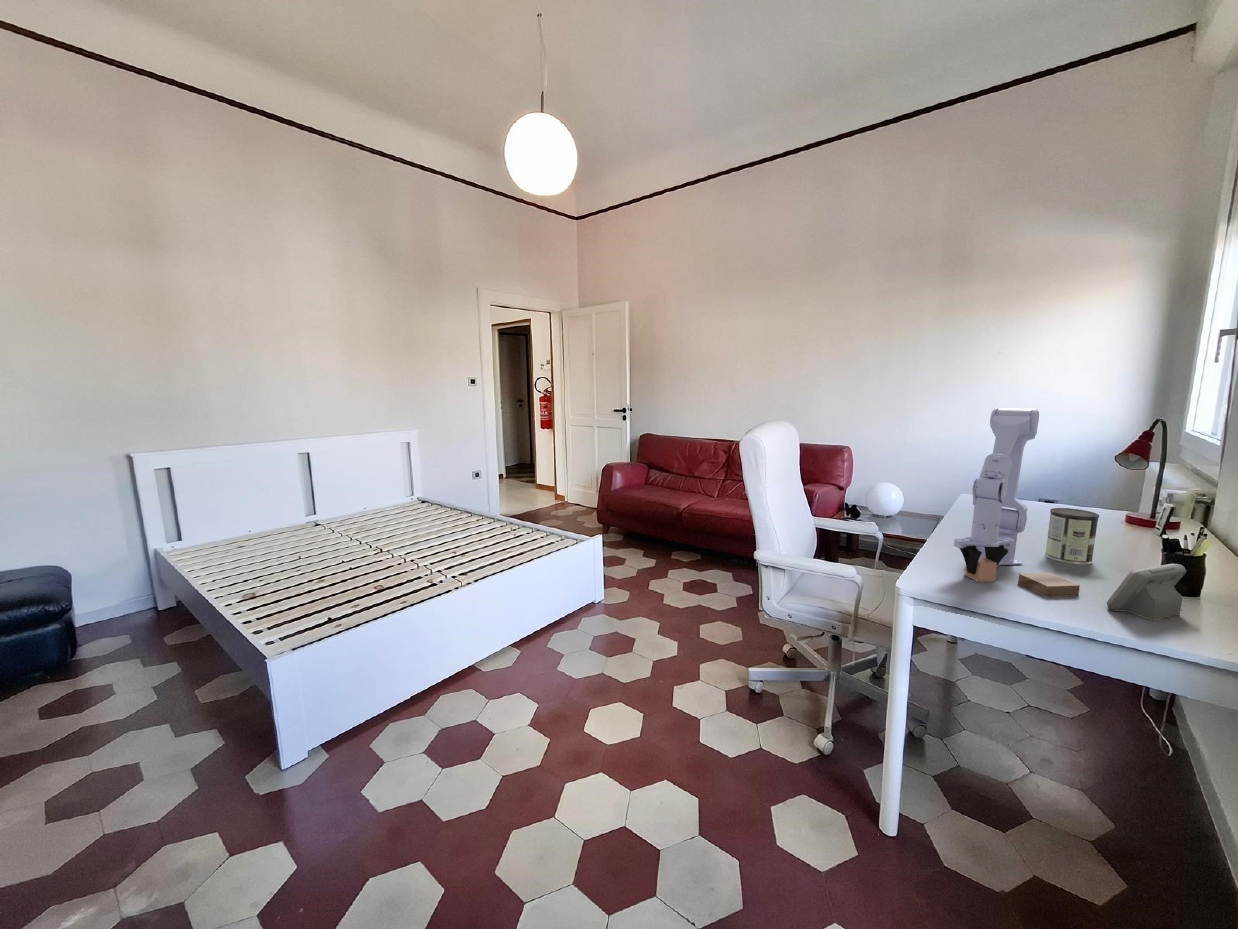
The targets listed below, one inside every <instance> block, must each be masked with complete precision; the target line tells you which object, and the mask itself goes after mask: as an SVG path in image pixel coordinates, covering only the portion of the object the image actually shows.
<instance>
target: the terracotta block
mask: <svg viewBox="0 0 1238 929" xmlns="http://www.w3.org/2000/svg"><path fill="white" fill-rule="evenodd" d="M996 567H997V568H998V566H997V563H996V562H994V561H992V560H990V559H987V558H985V557H980V558H979V560H978V564H977V570H976V573H975V574H971V573H969V572H967V568H966V567H965V573H964V575H965V576H966V575H967V576H966V577H968V578H971V579H972V580H974V581H976V582H995V581H996V575H997V574H996V573H997V568H996Z"/></svg>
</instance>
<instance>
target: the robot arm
mask: <svg viewBox="0 0 1238 929" xmlns="http://www.w3.org/2000/svg"><path fill="white" fill-rule="evenodd" d="M1039 422H1040V412H1039V410H1038V409H1037V408H999V407H995V408H993V410H992V411H991V413H990V420H989V426H990V429H991V431H992V433H993V436H994V438H995V440H994V444H993V449H992V450H993V451H992V453H991V454H989V455H987V456H986V457H985V459H984V462H983V465H982V468H981V471H980V474H979V477H978V478H975V479H974V481H973V485H972V505H973V515H972V521H971V522H972V523H971V530H970V531H971V533H970V536H967V537H961V538H954V540H953V541H954V543H953V546H954V547H956V548H958V549H959V550H960V552H961V553H962V556H963V559H964V562H965V563H964V564H965V569H966V568H967V572H969V573H971V574H975V573H976V570H977V564H978V560H979V558H980V557H985V558H987V559H990V560H992V561H994V562H996V563H997V567H996V569H997V568H998V567H999V566H1002V565H1004V566H1007V565H1008V566H1009V565H1023V562H1022V561H1019V560H1017V559H1015V555H1016V549H1017V548H1016V547H1017V541H1018V534H1019V533H1020V534H1021V533H1022V532H1024V531H1025V528H1026V525H1027V520H1028V519H1027V518H1028V517H1027V516H1028V515H1027V512H1028V507H1027V506H1026V505H1025V504H1024V503H1023V502H1022V501H1020V500H1019V499H1018V498H1017V494H1018V488H1019V481H1020V475H1021V468H1022V461H1023V456H1024V455H1023V454H1024V449H1025V446H1026V444H1027V442H1028V441H1031V440H1034V439H1035V438H1036V436H1037V432H1038V426H1039ZM1003 507H1004V508H1003Z"/></svg>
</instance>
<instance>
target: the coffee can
mask: <svg viewBox="0 0 1238 929" xmlns="http://www.w3.org/2000/svg"><path fill="white" fill-rule="evenodd" d="M1049 511H1050V513H1049V514H1050V516H1049V520H1048V521H1049V522H1048V531H1047V540H1046V547H1045V553H1044V556H1045V557H1047V558H1048V559H1050V560H1053V561H1055V562H1056V561H1057V562H1061V563H1064V564H1070V565H1080V566H1081V565H1083V566H1085V565H1087V566H1088V565H1092V564H1093V557H1094V556H1093V555H1094V549H1095V542H1096V534H1097V528H1098V521H1099V518H1100V514H1098V513H1096V512H1093V511H1091V510H1090V511H1089V510H1085V509H1077V508H1072V507H1071V508H1070V507H1069V508H1068V507H1053V508H1050V509H1049Z"/></svg>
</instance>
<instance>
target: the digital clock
mask: <svg viewBox="0 0 1238 929" xmlns="http://www.w3.org/2000/svg"><path fill="white" fill-rule="evenodd" d="M1186 573H1187V570H1186V568H1185V566H1183V565H1182V564H1180V563H1179V564H1178V563H1167V564H1162V565H1155V566H1150V567H1145V568H1139V569H1134V570H1131V571H1130V572H1128V574H1127V575H1126V576H1125V578H1124V580H1122V582H1121V583H1120V585H1119V586H1118V587H1117V588H1116V590H1115V591H1114V592H1113V593H1112V595H1111V596H1110V597H1109V599H1108V600H1107V602H1106V606H1107V608H1108V609H1109V610H1110V611H1114V612H1123V611H1125V612H1128V613H1130V614H1133V615H1135V616H1136V615H1137V616H1139V617H1143V618H1146V619H1147V620H1151V621H1154V620H1155V621H1156V620H1159V619H1165V618H1169V617H1174V616H1179V615H1180V614H1181V608H1182V602H1183V596H1182V594H1181V593H1179V592H1178V591H1177V589H1176V587H1175V586H1176V585H1177V584H1178V582H1179V581H1180V580H1181V579H1182V578H1183V576H1185V574H1186Z"/></svg>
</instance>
